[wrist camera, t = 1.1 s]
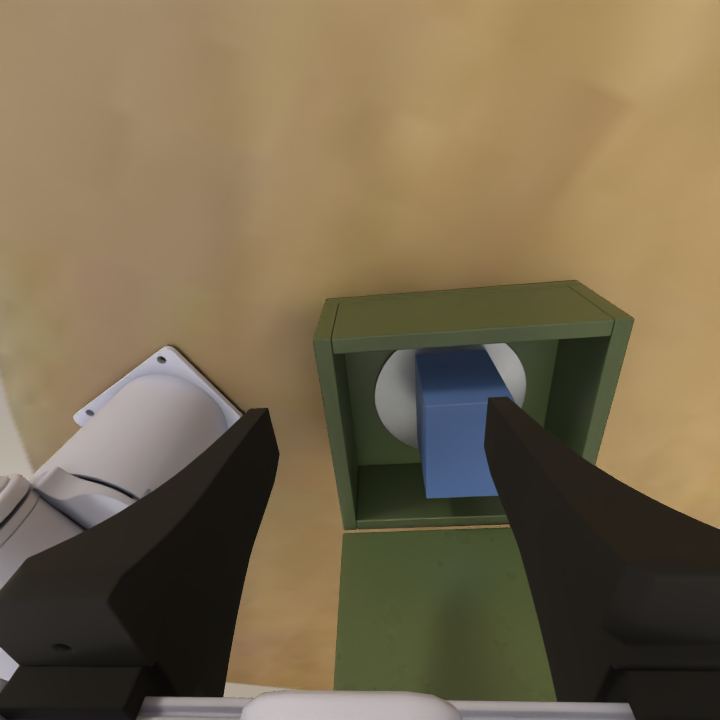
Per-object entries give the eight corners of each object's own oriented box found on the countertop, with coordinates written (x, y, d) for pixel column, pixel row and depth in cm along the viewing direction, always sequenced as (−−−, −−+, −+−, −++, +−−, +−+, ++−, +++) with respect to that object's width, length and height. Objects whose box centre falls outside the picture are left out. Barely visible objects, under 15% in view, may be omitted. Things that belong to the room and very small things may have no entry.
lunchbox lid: (317, 952, 11) (320, 951, 12) (810, 971, 11) (799, 970, 11) (342, 532, 23) (344, 538, 23) (584, 524, 22) (581, 530, 22)
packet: (414, 354, 22) (425, 406, 18) (486, 349, 22) (515, 401, 17) (417, 436, 25) (426, 499, 20) (480, 433, 25) (503, 495, 20)
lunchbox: (325, 298, 22) (312, 340, 17) (577, 279, 21) (635, 318, 16) (348, 466, 28) (343, 530, 23) (544, 457, 27) (580, 522, 22)
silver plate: (422, 469, 27) (422, 472, 26) (345, 376, 23) (344, 379, 23) (548, 409, 24) (550, 412, 24) (482, 294, 21) (484, 296, 20)
